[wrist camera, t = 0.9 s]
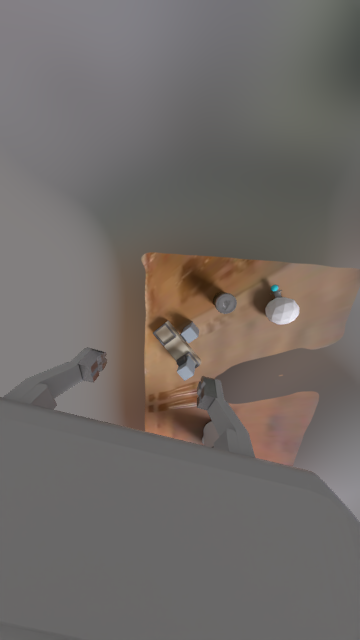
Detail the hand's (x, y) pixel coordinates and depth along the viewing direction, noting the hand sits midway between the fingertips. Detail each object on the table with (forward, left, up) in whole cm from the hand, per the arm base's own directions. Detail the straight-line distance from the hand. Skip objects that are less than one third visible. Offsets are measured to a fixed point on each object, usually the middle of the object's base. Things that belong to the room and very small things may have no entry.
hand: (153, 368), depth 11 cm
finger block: (-6, +6, -39) cm, 39 cm away
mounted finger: (-15, +14, -36) cm, 41 cm away
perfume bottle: (-15, -21, -39) cm, 46 cm away
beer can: (-4, -9, -39) cm, 40 cm away
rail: (-8, +14, -38) cm, 42 cm away
